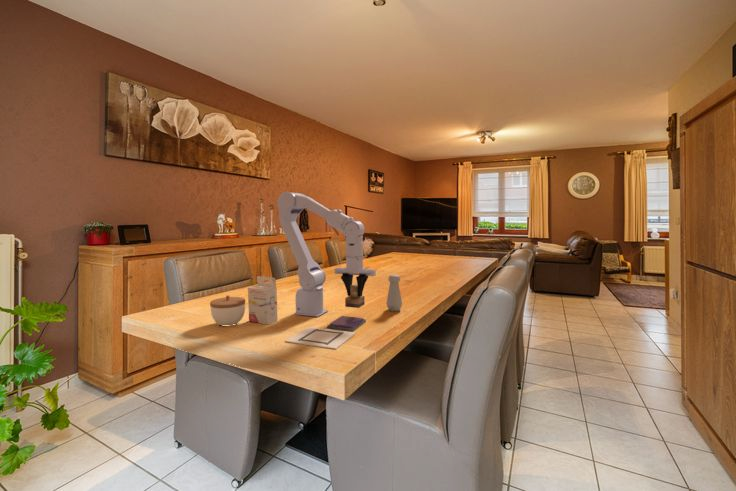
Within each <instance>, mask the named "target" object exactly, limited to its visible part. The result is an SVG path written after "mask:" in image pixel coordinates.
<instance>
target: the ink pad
mask: <svg viewBox="0 0 736 491" xmlns="http://www.w3.org/2000/svg"><path fill="white" fill-rule="evenodd" d="M366 322H367V321H366V319H365V318H363V317H356V316H346V315H341V316H339V317H338V318H336V319H334V320H333V321H331V322H330V323H329V324H327V325H326V329H331V330H339V331H347V332H355V331H356V330H357V329H359V328H360V327H361V326H362V325H364V324H365V323H366Z"/></svg>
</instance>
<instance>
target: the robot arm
mask: <svg viewBox="0 0 736 491" xmlns="http://www.w3.org/2000/svg"><path fill="white" fill-rule="evenodd" d="M276 205H277V207H278V222H279V223H280V226H281V228H282V232H284V236H285V239H286V240H287V242H288V244H289V247H290V248H291V252H292V253H293V256H294V258H295V261H296V262H297V265H298V268H297V271H296V272H297V275H298V283H299V286H300V288H298V289H297V290H296V292H295V312H294V315H297V316H308V317H316V318H317V317H320V316H322V315H323V314H325V313H328V312H329V309H324V283H325V281H326V279H327V275H326V272H325V271H324V270H323V269H321V266H320V265H319V263H318V262H316V261H315V260H314V259H313V257H312V255H311V252H310V250H309V247H308V245H307V243H306V241H305V239H304V236H303V234H302V232H301V230H300V227H299V225H298V222H297V219H298V216H299V215H300V214H301V213H302V212H303V210H304V209H306V210H308V211H310V212H312V213H314V214H317V216H320V217H322V218H324V219H325V221H326V223H327V225H329V226H330V227H333V228H334V229H335V230H338V232H341V233H343V235H344V236H345V255H346V256H345V265H346V266H345V267H335V268H334V275H341V276H340V279H341V280H342V283H343V285H344V286H345V289H346V290H345V291H346V295H347V297H348V296H350V285H353V281H354V280H353V278H354V276H356V277H355V279H356V285H358V297H360V296H363V292H364V288H365V285H366V282H367V280H368V278H369V277H376V269H369V268H364V240H363V238H364V236H363V235H364V234H365V231H366V227H365V225H364V223H363V222H362V221H361V220H358V219H357V220H354V217H352V216H348V215H346V214H344V213H343V210H341V209H335V208H334V209H332V210H330V209H329V208H327V207H325V205H322V204H321V203H319V202H317V201H316V200H315V199H313V198H312V197H310V196H308V195H307V194H305V195H304V194H303V193H301V192H292V191H291V192H290V191H283V192H282V193H281V194H280V195H279V197H278V199H277V201H276Z"/></svg>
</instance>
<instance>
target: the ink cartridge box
mask: <svg viewBox="0 0 736 491" xmlns="http://www.w3.org/2000/svg"><path fill="white" fill-rule="evenodd" d="M256 280H257V284H255V285H252V286H248V287H247V299H248V301H247V302H248V303H247V304H248V306H247V307H248V322H249V321H252V322H251V323H255V322H257V324H261V323H262V325H267V324H268V325H271V324H272V323H275V322H277V321H278V295H277V292H278V290H277V289H278V287H277V283H276V282H277V280H276V278H275V277H269V276H256ZM268 325H267V326H268Z"/></svg>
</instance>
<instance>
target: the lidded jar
mask: <svg viewBox="0 0 736 491" xmlns="http://www.w3.org/2000/svg"><path fill="white" fill-rule="evenodd" d="M209 305H210V313H211V317H212V319H213V320H214V322H215V323H216V324H218V326H219V325H233V324H237V323H238V322H239V323H240V321H242V319H243V317H244V316H245V311H246V299H245V298H244V297H240V296H230V295H229V294H228V295H226V296H225V297H220V298H215V299H213V300H211V301H210V302H209ZM239 323H238V324H239ZM238 324H237V325H238Z"/></svg>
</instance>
